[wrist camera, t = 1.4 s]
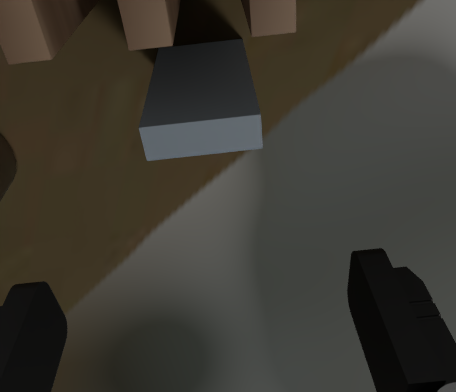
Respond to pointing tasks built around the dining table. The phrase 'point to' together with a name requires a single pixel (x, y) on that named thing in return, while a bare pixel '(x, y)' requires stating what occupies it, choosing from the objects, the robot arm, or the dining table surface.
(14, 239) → the dining table surface
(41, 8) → the walnut domino
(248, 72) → the slate domino
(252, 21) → the walnut domino
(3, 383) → the robot arm
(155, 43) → the walnut domino
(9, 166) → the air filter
